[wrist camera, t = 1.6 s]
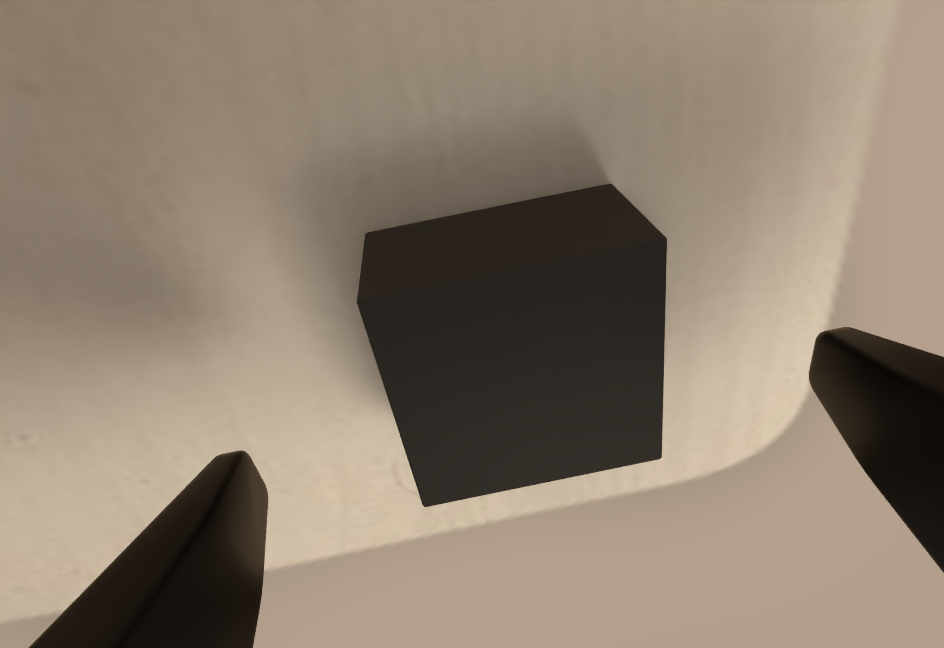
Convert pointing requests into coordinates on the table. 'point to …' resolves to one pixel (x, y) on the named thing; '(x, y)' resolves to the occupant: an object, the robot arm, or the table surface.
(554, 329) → the black block
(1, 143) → the table surface
